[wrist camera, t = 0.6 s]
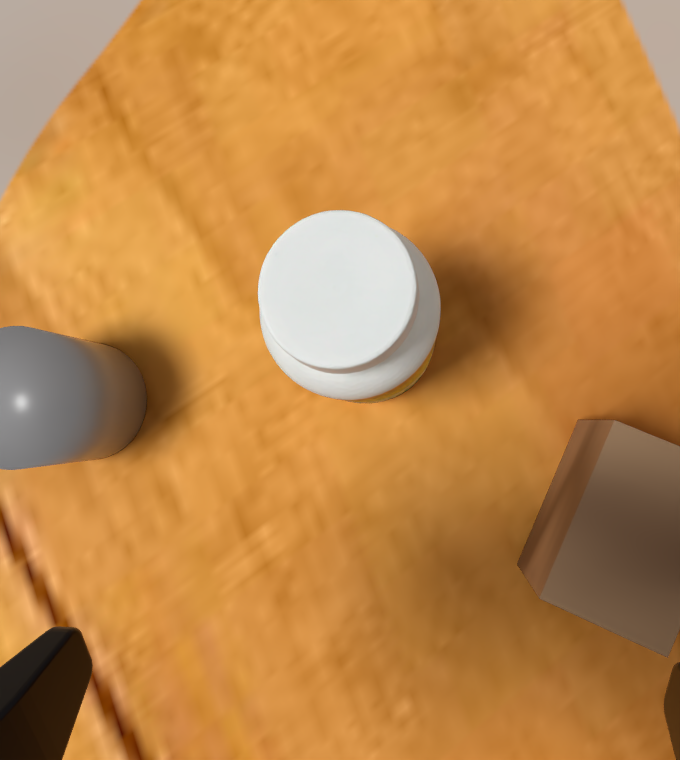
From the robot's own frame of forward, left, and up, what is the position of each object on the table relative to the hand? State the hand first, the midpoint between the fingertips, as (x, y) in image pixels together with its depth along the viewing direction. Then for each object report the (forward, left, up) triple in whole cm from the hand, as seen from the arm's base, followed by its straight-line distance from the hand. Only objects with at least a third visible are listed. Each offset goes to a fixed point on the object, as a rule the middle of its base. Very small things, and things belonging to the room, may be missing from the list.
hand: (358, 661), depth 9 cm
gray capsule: (-6, +13, -15) cm, 20 cm away
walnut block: (+5, -5, -15) cm, 17 cm away
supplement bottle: (+4, +6, -15) cm, 16 cm away
